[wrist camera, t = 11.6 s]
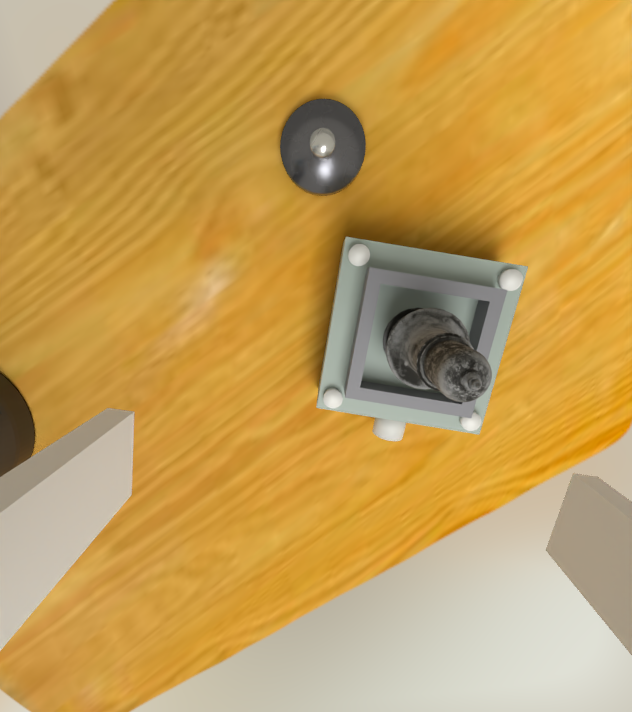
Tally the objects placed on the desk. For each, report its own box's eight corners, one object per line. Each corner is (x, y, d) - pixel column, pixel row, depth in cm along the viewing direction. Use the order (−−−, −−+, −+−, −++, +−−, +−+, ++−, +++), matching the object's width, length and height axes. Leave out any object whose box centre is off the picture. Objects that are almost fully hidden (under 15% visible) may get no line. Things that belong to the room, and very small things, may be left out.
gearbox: (314, 411, 35) (311, 444, 29) (343, 242, 32) (347, 233, 25) (452, 434, 35) (481, 472, 29) (497, 267, 32) (543, 266, 25)
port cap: (276, 188, 31) (273, 182, 29) (288, 98, 29) (284, 84, 27) (355, 201, 31) (358, 196, 29) (371, 112, 29) (374, 99, 27)
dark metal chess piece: (456, 303, 28) (551, 324, 16) (449, 376, 29) (533, 444, 17) (380, 303, 28) (419, 324, 16) (377, 375, 29) (411, 443, 17)
